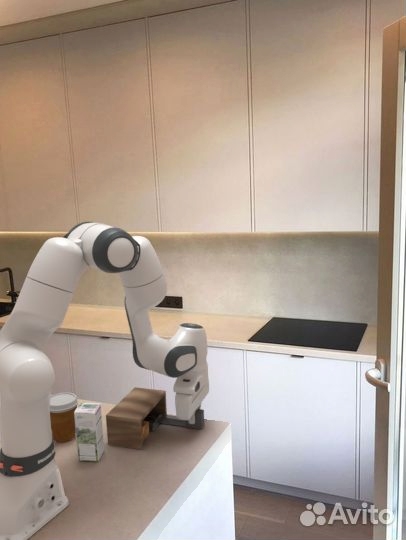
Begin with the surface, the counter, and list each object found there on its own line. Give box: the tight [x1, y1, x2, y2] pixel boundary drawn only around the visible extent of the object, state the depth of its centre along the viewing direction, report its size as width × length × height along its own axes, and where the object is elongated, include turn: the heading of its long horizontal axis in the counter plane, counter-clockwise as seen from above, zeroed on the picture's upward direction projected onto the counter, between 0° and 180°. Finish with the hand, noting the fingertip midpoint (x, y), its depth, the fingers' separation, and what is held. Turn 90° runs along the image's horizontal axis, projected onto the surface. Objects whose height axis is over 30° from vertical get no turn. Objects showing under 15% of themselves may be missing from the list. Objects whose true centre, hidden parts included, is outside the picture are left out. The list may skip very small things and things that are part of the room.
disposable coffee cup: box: [50, 392, 79, 443], centre depth 143 cm, size 10×10×12 cm
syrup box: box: [74, 402, 105, 462], centre depth 132 cm, size 6×6×14 cm
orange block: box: [142, 420, 150, 442], centre depth 142 cm, size 4×4×4 cm
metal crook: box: [147, 408, 205, 432], centre depth 146 cm, size 7×16×5 cm, turn 72°
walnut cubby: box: [105, 387, 168, 450], centre depth 145 cm, size 19×10×9 cm, turn 162°
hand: (194, 419), depth 147 cm, fingers closed on metal crook, 3 cm apart
